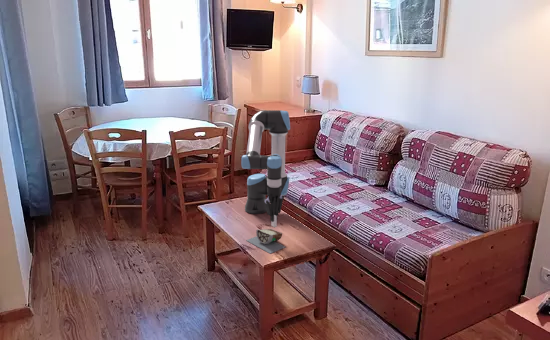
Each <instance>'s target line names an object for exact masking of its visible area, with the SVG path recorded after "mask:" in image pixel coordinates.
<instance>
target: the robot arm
mask: <svg viewBox="0 0 550 340" xmlns="http://www.w3.org/2000/svg"><path fill="white" fill-rule="evenodd" d="M265 130H269V132H268V133H269V134H270V135H271V155H261V148H262V147H261V145H262V138H263V137H262V136H263V132H264V131H265ZM290 130H291V121H290V114H289V111H287V110H279V109H277V110H275V109H274V110H273V109H271V110H269V109H268V110H266V109H265V110H260V111H257V112H256V113H255V114H254V115H253V116H252V117H251V118H250V119H249V122H248V131H249V133H248V140H247V146H246V154H243V155H241V160H240V161H241V165H240V166H241V168H242V169H245V170H246V169H247V170H266V171H267V176H266V174H265V173H254V174H252V175H249V176H248V177H247V180H246V181H247V182H246V185H247V186H246V187H247V189H246V191H247V196H246V197H247V198H246V201H245V202H246V203H245V205H244V211H245V212H246V213H249V214H253V215H261V214H265V213H266V214H267V216H270V222H271V227H272V228H277V226H278V225H277V224H278V223H277V222H278V216H279V215H280V213H281V211H282V206H283V201H284V199H285V196H286V195H287V194H288V191H289V183H290V176H289V177H288V174H287V173H286V135H287V134H288V133H289V131H290ZM266 196H267V197H266Z"/></svg>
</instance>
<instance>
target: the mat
mask: <svg viewBox="0 0 550 340" xmlns="http://www.w3.org/2000/svg"><path fill="white" fill-rule="evenodd" d="M245 241H246V242H248V243H250V244H252V245H253V246H255V247H256V248H259V249H261V250H263V251H264V252H266V253H268V254H269V255H270V254H273V253H275V252H278V251H281V250H283V249H286V246H284V245H283V244H281V243H279V242H277V241H272V242H270V243H268V244H264V243H261V242H260V241H259V240H258V238H257V235H256V236H254V237H251V238H249V239H246V240H245Z"/></svg>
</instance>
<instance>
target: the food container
mask: <svg viewBox="0 0 550 340" xmlns="http://www.w3.org/2000/svg"><path fill="white" fill-rule="evenodd" d="M255 231H256V232H255V233H256V236H257V238H258V240H259V241H260V242H261V243H264V244H268V243H270V242H272V241H275V242H277V241H280V240H281V238H282V236H283V233H282V232H280V231H278V230H275V229H273V228H268V229H267V228H266V229H256V230H255Z"/></svg>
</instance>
